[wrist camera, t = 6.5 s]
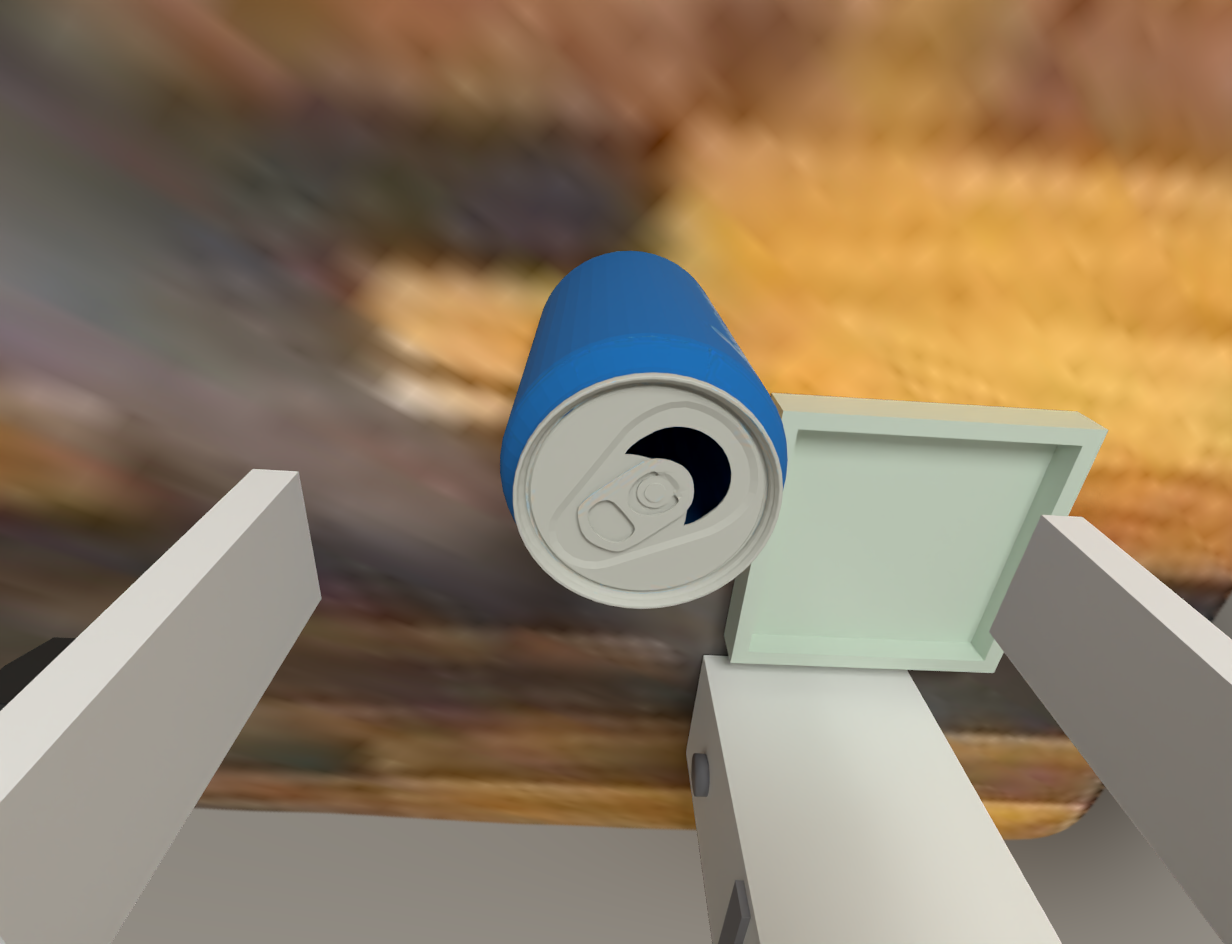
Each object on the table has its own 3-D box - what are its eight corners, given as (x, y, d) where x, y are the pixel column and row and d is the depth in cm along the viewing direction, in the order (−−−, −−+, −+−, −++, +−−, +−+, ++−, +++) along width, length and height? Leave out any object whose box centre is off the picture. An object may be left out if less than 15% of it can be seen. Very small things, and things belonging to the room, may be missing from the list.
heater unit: (676, 755, 35) (721, 1131, 22) (694, 649, 31) (761, 1023, 18) (873, 761, 35) (1033, 1131, 22) (913, 658, 32) (1130, 1026, 19)
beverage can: (746, 354, 24) (858, 528, 14) (609, 447, 26) (616, 666, 15) (647, 206, 22) (692, 281, 11) (503, 320, 24) (424, 478, 13)
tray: (723, 635, 31) (730, 662, 29) (771, 392, 25) (783, 410, 24) (973, 645, 32) (993, 672, 30) (1077, 411, 26) (1108, 430, 24)
